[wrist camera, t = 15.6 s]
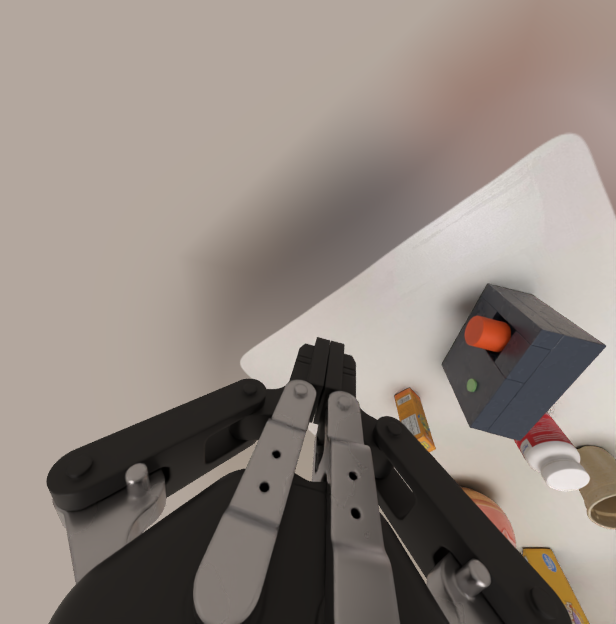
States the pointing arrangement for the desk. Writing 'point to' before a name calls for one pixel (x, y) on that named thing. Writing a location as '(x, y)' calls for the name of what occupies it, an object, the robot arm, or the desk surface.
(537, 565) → the game box
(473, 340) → the knob
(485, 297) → the control box
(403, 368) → the desk surface
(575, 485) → the pill bottle
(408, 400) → the supplement box
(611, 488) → the flower pot
